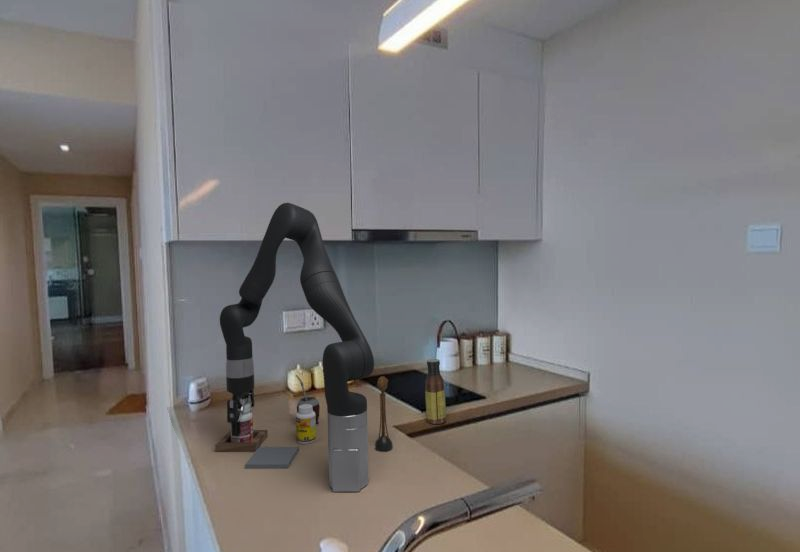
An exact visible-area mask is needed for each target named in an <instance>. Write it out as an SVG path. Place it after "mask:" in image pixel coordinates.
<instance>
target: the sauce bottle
mask: <svg viewBox="0 0 800 552" xmlns="http://www.w3.org/2000/svg"><path fill="white" fill-rule="evenodd" d="M440 362H441V361H440V359H437V358H431V359H426V365H427V375H426V378H425V379H424V393H425V394H424V395H425V396H424V397H425V412H426V413H425V414H426V421H427V422H428V423H429V424H430V425H441V424H445V422H446V421H447V409H446V408H447V407H446V393H445V392H446V391H445V383H444V378H443V376H442V375H441V371H440V366H441V365H440V364H441V363H440Z"/></svg>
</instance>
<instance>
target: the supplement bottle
mask: <svg viewBox="0 0 800 552" xmlns="http://www.w3.org/2000/svg"><path fill="white" fill-rule="evenodd" d="M298 411H299V412H298V413H297V412H296V414H295V432H296V437H295V438H296V441H297V443H298V444H301V445H308V444H312V443H314V442H315V441H316V439H317V424H316V414H315V412H314V411H313V407H312V405H310V404H303V405H300V406H299V410H298Z"/></svg>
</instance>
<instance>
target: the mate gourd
mask: <svg viewBox="0 0 800 552" xmlns="http://www.w3.org/2000/svg"><path fill="white" fill-rule="evenodd" d="M295 378H297V380H298V382H300V386H301V390H302V392H303V396H304V397H302V398H300V399H299V400H298V402H297V406H296V414H297V413H298V412H299V411H298V410H299V406H300V405H303V404H310V405H312V407H313V411H314V412H315V414H316V425H319V418H320V402H319V400H318V399H317V398H316V397H314V396H307V394H306V390H305V387H304V386H305V385H304V382H303V381H302V380H301V378H300V377H299V376H298V375H297V374H295Z"/></svg>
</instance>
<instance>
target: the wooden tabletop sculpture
mask: <svg viewBox="0 0 800 552" xmlns="http://www.w3.org/2000/svg"><path fill="white" fill-rule="evenodd" d="M388 383H389V379H388V378H386V377H385V376H380V377H379V378H378V379H377V384H376V386H377V389H378V390H379V391H380V393H379V406H380V407H379V408H380V412H379V413H380V414H379V415H380V419H379V432H378V438H377V439H376V441H375V444H374V449H375V451H377V452H380V453H387V452H390V451H392V450H393V448H394V446H393V442H392V440H391V438H390V437H389V433H388V426H387V414H386V413H387V411H386V410H387V409H386V395H387V394H386V393H385V391H386V390H387V388H388Z"/></svg>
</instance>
